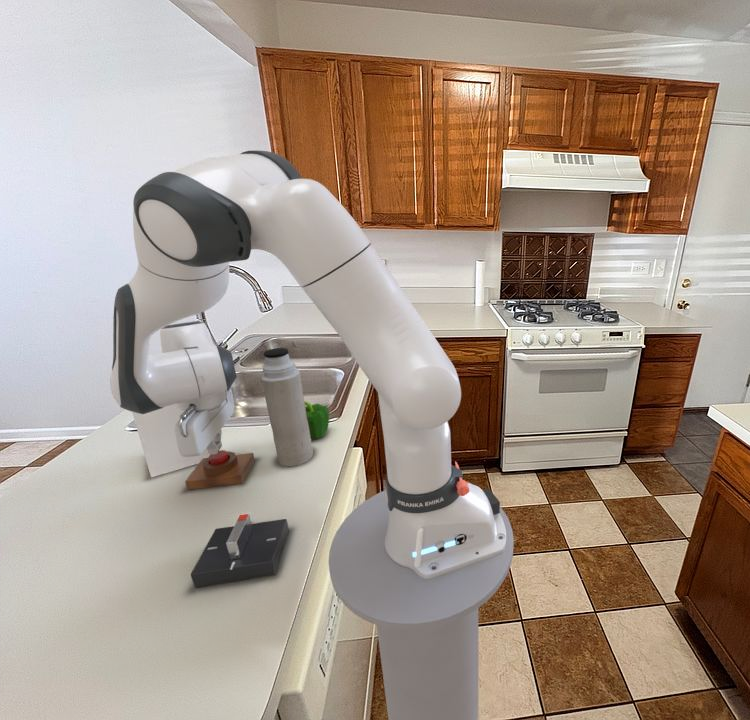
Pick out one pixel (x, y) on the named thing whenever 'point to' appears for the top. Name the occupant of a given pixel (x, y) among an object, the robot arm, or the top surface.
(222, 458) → the button
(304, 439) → the thermos bottle
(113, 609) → the top surface
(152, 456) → the milk
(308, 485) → the top surface
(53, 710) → the top surface
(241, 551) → the tap knob
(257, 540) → the tap base
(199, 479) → the button block
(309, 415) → the bell pepper
